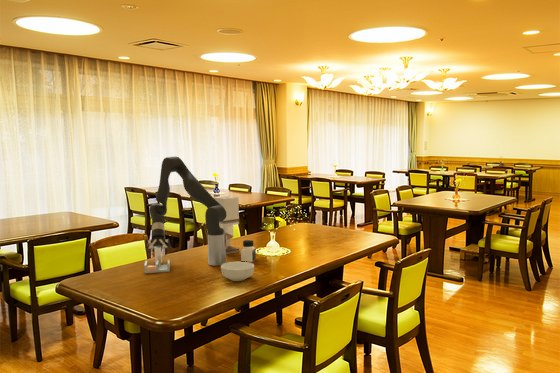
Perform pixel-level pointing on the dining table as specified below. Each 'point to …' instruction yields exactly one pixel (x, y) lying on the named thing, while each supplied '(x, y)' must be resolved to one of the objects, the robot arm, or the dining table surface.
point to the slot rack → (157, 267)
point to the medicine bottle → (248, 251)
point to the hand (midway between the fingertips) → (158, 255)
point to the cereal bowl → (237, 270)
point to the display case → (229, 220)
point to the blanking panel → (158, 254)
